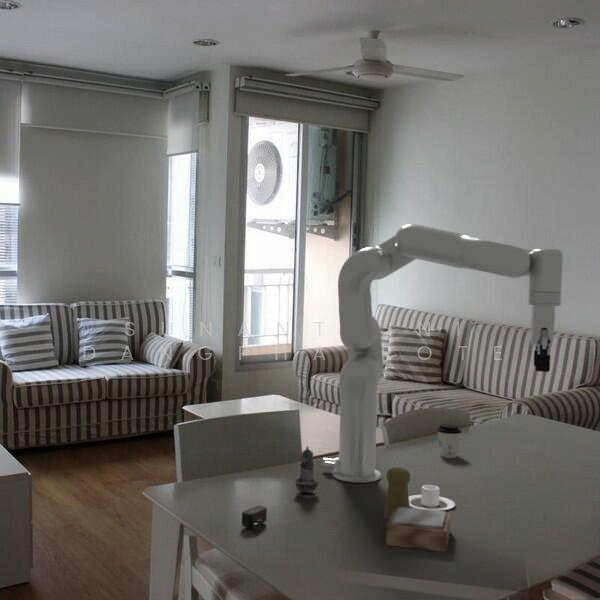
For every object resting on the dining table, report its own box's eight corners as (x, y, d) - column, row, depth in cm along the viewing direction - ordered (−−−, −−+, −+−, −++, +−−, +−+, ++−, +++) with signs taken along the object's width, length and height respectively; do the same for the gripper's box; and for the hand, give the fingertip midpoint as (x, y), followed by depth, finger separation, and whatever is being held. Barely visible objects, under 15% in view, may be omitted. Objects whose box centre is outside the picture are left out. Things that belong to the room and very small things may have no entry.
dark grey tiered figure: (322, 494, 193) (323, 445, 192) (312, 500, 187) (313, 450, 187) (300, 490, 195) (301, 442, 194) (289, 496, 190) (291, 447, 189)
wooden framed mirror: (385, 544, 159) (386, 522, 159) (393, 525, 171) (394, 504, 171) (446, 551, 157) (447, 528, 156) (449, 531, 168) (450, 510, 168)
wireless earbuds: (238, 527, 168) (238, 513, 167) (257, 519, 173) (258, 505, 173) (255, 532, 165) (255, 517, 165) (274, 523, 171) (274, 509, 171)
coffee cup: (464, 459, 230) (465, 425, 230) (455, 464, 224) (456, 429, 224) (441, 455, 234) (442, 422, 234) (432, 460, 228) (433, 426, 228)
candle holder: (416, 515, 180) (416, 496, 180) (395, 499, 192) (396, 481, 191) (464, 512, 183) (464, 493, 183) (441, 496, 195) (442, 479, 195)
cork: (393, 523, 173) (395, 473, 172) (378, 514, 178) (379, 466, 178) (415, 519, 176) (417, 470, 175) (400, 511, 181) (402, 463, 180)
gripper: (527, 297, 203) (524, 363, 204) (530, 300, 187) (526, 372, 187) (558, 298, 202) (554, 365, 202) (563, 301, 185) (560, 374, 186)
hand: (541, 368), depth 195 cm, fingers open, 9 cm apart
